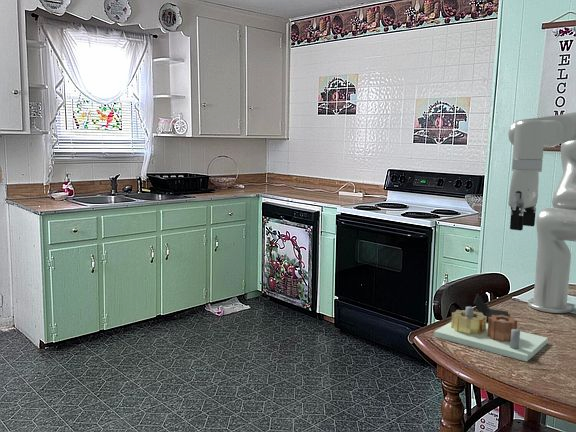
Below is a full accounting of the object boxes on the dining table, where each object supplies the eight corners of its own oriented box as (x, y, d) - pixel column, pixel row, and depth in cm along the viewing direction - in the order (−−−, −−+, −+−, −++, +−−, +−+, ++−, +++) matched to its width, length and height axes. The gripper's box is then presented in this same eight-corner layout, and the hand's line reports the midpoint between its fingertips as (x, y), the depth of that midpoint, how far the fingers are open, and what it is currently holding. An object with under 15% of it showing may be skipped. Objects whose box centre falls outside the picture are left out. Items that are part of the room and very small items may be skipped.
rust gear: (493, 330, 145) (494, 313, 144) (519, 337, 141) (520, 318, 140) (483, 337, 140) (484, 319, 139) (509, 344, 136) (511, 325, 135)
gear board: (459, 321, 156) (461, 296, 155) (547, 343, 141) (549, 315, 140) (433, 336, 145) (435, 309, 144) (526, 361, 129) (529, 331, 128)
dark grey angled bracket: (514, 320, 154) (492, 290, 156) (492, 333, 156) (471, 304, 157) (509, 313, 165) (489, 286, 167) (488, 325, 167) (469, 298, 168)
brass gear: (459, 321, 152) (460, 307, 152) (490, 328, 147) (491, 314, 146) (446, 329, 146) (447, 314, 145) (477, 337, 140) (478, 322, 140)
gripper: (523, 164, 156) (519, 222, 159) (501, 166, 143) (497, 229, 146) (551, 165, 151) (546, 225, 154) (530, 167, 138) (525, 233, 141)
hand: (522, 227), depth 150 cm, fingers open, 9 cm apart
